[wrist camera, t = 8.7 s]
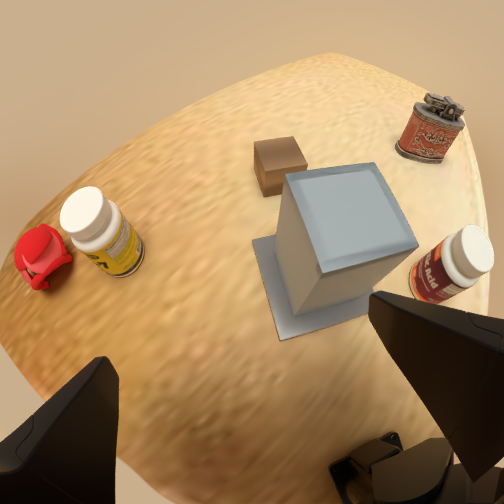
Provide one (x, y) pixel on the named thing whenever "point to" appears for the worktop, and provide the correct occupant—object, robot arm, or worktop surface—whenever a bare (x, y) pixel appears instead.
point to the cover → (338, 235)
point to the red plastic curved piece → (40, 254)
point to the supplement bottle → (102, 232)
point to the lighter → (431, 129)
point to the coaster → (281, 306)
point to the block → (276, 163)
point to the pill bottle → (452, 265)
